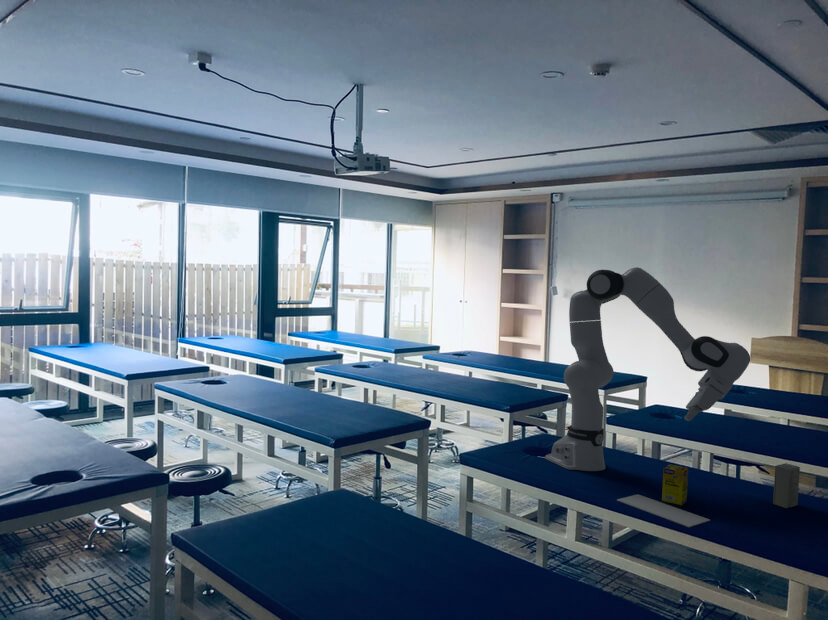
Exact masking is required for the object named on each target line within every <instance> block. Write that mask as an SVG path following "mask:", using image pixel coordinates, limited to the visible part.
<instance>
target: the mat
mask: <svg viewBox="0 0 828 620" xmlns="http://www.w3.org/2000/svg"><path fill="white" fill-rule="evenodd" d="M616 502H619V503H621V504H622V503H623V504H625V505H628V506H630V507H632V508H636V509H638V510H641V511H644V512H647V513H649V514H651V515H654V516H657V517H661V518H662V519H666V520H667V521H671V522H673V523H675V524H677V525H681V526H684V527H687V528H692V527H695V526H698V525H701V524H705V523H707V522H710V521H711V519H709V518H706V517H704V516H700V515H698V514H695V513H693V512H689V511H686V510H683V509H681V508H679V507H676V506H673V505H668V504H664V503H662V501H658V500H656V499H652V498H651V497H650V498H649V497H646V496H644V495H641V494H638V493H637V494H633V495H630V496H629V495H628V496H626V497H621V498H618V499H616Z"/></svg>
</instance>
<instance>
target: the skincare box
mask: <svg viewBox="0 0 828 620" xmlns="http://www.w3.org/2000/svg"><path fill="white" fill-rule="evenodd" d="M800 471H801V467H800V466H798V465H795V464H794V465H793V464H792V463H791V464H790V463H781V464H778V465H777V464H776V465H775V467H774V481H773V483H774V484H773V497H772V498H773V499H772V504H773V505H776V506H778V507H782V508H784V509H789V507H790V508H792V507H795V506H798V502H799V490H800V489H799V485H800Z"/></svg>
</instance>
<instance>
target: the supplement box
mask: <svg viewBox="0 0 828 620" xmlns="http://www.w3.org/2000/svg"><path fill="white" fill-rule="evenodd" d="M662 473H663V474H662V489H661V490H662V492H661V503H664V504H667V505H670V506H673V507H676V508H682V507H683V506H684V505H685V504H687V498H688V483H689V482H688V480H689V477H688V476H689V467H686V466H685V467H684V466H681V465H675V464H670V463H669V464H668V465H666V466H665V467H663V472H662Z"/></svg>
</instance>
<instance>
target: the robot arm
mask: <svg viewBox="0 0 828 620" xmlns="http://www.w3.org/2000/svg"><path fill="white" fill-rule="evenodd" d="M621 296H625V297H626V298H628V299H629V300H630V301H631V302H632V304H633V305H635V306H636V307H637V308H638V309H639V310H640V312H642V313H643V314H644V315H645V316H646V317H647V318H649V319H650V321H652V322H653V323H654V324H655V325H656V326H657V327H658V328H659V329H660V330H661V331H662V333H664V334H665V336H666V337H667V338H668V339H669V341H671V342H672V344H673V345H674V346H675V347H676V348H677V350H678V351H679V353H680V354H681V355H680V356H681V357H682V360H683V363H684V364H685V365H686V367H687V368H688V369H690V370H692V371H695V372H705V371H706V372H705V373H704V375H703V376H702V377H701V378H700V379H699V380H698V382H697V384H698V386H699V387H698V389H697V390H698V391H697V392H696V394H694V396H692V398H691V399H690V400H689V402H688V403H687V404H686V406H685V408H686V409H687V410H688V412H687V414H686V415H685V416H684V420H685V421H687V422H690V421H692V420H694V417H696V415H698V414H699V413H701V412H704V411H708V410H710V409H711V408H712V407H713V406H714V405H715V404H716V403H717V402H718V401H719V400H723V399H724V398H725V396H726V395H727V394H728V393H729V392H730V391H731V389H732V387H733V386H734V383H735V382H736V381H737V380H739V379H740V378H741V376H742V375H743V374H744V372H745V371H746V370H747V368H748V366H749V364H750V362H751V355H750V354H749V352H748V350H747V349H746V348H745V347H744V346H743V345H740V344H739V343H737V342H727V341H726V342H725V341H722V340H718V339H715V337H711V336H707V335H703V336H698V337H697V338H694V337H693V336H692V335H691V333H690V332H689V331H688V330H687V329H686V328H685V327H684V326H683V325H682V323H681V322H680V321H679V320H678V317H677V315H676V311H675V300H674V299H673V297H672V295H671V293H670V292H669V291H668V289H667V288H666V287H665V286H664V285H663V284H661V282H660V281H658V279H656V278H655V277H654V276H653V275H651V274H650V273H649V272H647V271H646V270H644V269H643V268H641V267H631V268H629V269H628V270H626V271H625V272H624V273H622V274H620V273H619V272H615V271H613V270H611V269H597V270H595V271H594V272H592V273H591V274H590V275H589V276H588V278H587V281H586V289H585V290H579V291H577V292H575V293H573V294H572V295H571V296H570V299H569V311H568V314H569V315H568V316H569V317H568V320H569V321H568V322H569V331H570V342H571V345H572V347H573V348H574V350H575V352H576V355H577V359H578V360H576V361H574V362H572V363H571V364H569V365H568V366H567V367H566V368H565V370H564V373H563V381H564V384H565V385H566V386H567V388H568V391H569V395H570V401H571V424H570V425H569V426H565V427H564V428H565V429H564V430H565V431H567V433H566V435H564V436H563V437H561V438H559V439H558V440H557V441H555V442H554V443H553V445H552V447H551V448H552V449H551V453H548V454H546V455H545V456H544V459H545V460H547V461H549V462H551V463H553V464H556V465H558V466H559V467H562V468H564V469H566V470H570V471H571V470H572V471H575V470H576V471H582V472H583V471H584V472H599V471H604V470H605V469H607V468H606V463H605V458H604V448H603V442H604V435H605V432H604V431H605V428H603V426H604V411H605V410H604V405H603V404H602V402H601V398H600V394H599V390H600V388H603V387H605V386H607V385H608V384H609V383H610V382H611V381H612V379H613V377H614V368H613V366H612V364H611V363H610V362H609V358H608V356H607V353H606V349H605V345H604V340H603V330H602V320H601V319H602V318H601V306H602V305H604V304H606V303H608V302H611V301H614V300H616V299H618V298H620V297H621Z"/></svg>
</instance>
